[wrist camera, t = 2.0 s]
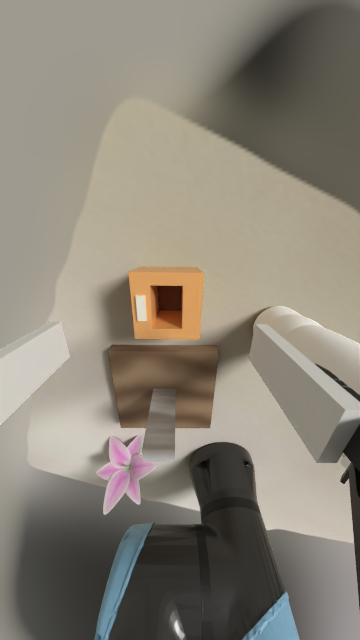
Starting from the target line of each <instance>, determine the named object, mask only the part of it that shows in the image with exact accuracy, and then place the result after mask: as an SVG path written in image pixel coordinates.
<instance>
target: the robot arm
mask: <svg viewBox="0 0 360 640" xmlns="http://www.w3.org/2000/svg"><path fill="white" fill-rule="evenodd" d="M69 357H70V354H69V350H68V347H67V343H66V340H65V336H64V333H63V329H62V326H61V322H48V323H46V324H44V325H43V326H41V327H39V328H37V329H35V330H34V331H32V332H30V333H28V334H26V335H25V336H23V337H21V338H19V339H17V340H15V341H14V342H12V343H10V344H8V345H6V346H5V347H3V348H1V349H0V425H1V424H2V423H3V422H4V421H5V420H6V419H7V418H8V417H9V416H10V415H11V414H12V413H13V412H14V411H15V410H16V409H17V408H18V407H20V406H21V405H22V404H23V402H25V401H26V400H27V399H28V398H29V397H30V396H31V395H32V394H33V393H34V392H35V391H36V390H37V389H38V388H39V387H40V386H41V385H42V384H43V383H44V382H45V381H46V380H47V379H48V378H49V377H50V376H51V375H52V374H53V373H54V372H55V371H56V370H57V369H58V368H59V367H60V366H61V365H62V364H63V363H64V362H65V361H66V360H67V359H68V358H69ZM249 359H250V361H251V362H252V364H253V365H254V367H255V369H256V370H257V372H258V373H259V375H260V376H261V378H262V379H263V381H264V382H265V384H266V386H267V387H268V389H269V390H270V392H271V393H272V395H273V396H274V398H275V399H276V401H277V402H278V404H279V406H280V407H281V409H282V410H283V412H284V413H285V415H286V416H287V418H288V419H289V421H290V422H291V424H292V426H293V427H294V429H295V430H296V432H297V433H298V435H299V436H300V438H301V439H302V441H303V442H304V444H305V446H306V447H307V449H308V450H309V452H310V453H311V455H312V456H313V458H314V459H315V461H316V462H317V463H337V462H338V460H339V458H340V457H341V455H342V454H343V452H344V454H345V455H346V456H347V457H348V459H349V460H350V461H351V464H350V465H349V466H348V468H347V469H346V471H345V472H344V474H343V475H342V477H341V481H340V482H342V483H343V484H345V482H346V481H347V480H348V479H349V483H350V496H351V508H352V520H353V533H354V545H355V556H356V569H357V581H358V592H359V593H358V594H359V607H360V395H359V394H358V393H356V392H355V391H354V390H353V389H351V388H350V387H348V385H346V384H345V383H344V382H343V381H341V380H339V378H338V377H336V376H335V375H334V374H333V373H331V372H330V371H329V370H327V369H325V368H323V367H322V366H320V365H318V364H314V363H313V362H311V361H310V360H309V359H308V358H307V357H305V356H304V355H303V354H302V353H301V352H299V351H298V350H297V349H296V348H295V347H294V346H292V345H291V344H290V343H289V342H288V341H286V340H285V339H284V338H283V337H282V336H280V335H279V334H278V333H277V332H276V331H274V330H273V329H272V328H271V327H270V326H268V325H267V324H255V329H254V334H253V339H252V344H251V349H250V354H249ZM189 465H190V477H191V480H192V483H193V486H194V490H195V493H196V496H197V499H198V502H199V505H200V511H201V522H202V524H155V523H154V522H151V523H150V524H139V525H133V526H132V527H130V528H129V529H128V531H127V532H126V533H125V535H124V537H123V539H122V541H121V543H120V546H119V548H118V551H117V554H116V557H115V560H114V563H113V566H112V569H111V572H110V576H109V579H108V583H107V586H106V590H105V594H104V598H103V601H102V605H101V610H100V614H99V618H98V623H97V632H96V636H95V640H299V637H298V633H297V629H296V626H295V622H294V619H293V615H292V612H291V608H290V605H289V601H288V598H289V597H288V594H287V591H285V588H284V584H283V582H282V578H281V575H280V572H279V569H278V566H277V562H276V559H275V556H274V553H273V550H272V547H271V544H270V541H269V538H268V534H267V531H266V528H265V525H264V522H263V519H262V516H261V513H260V510H259V506H258V503H257V496H256V483H255V471H254V465H253V462H252V459H251V456H250V454H249V453H248V451H247V450H246V449H244V448H243V447H241V446H239V445H236V444H232V443H215V444H210V445H207V446H204V447H202V448H200V449H199V450H197V451H196V452H195V453H194V454H193V455H192V457H191V459H190V462H189Z"/></svg>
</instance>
